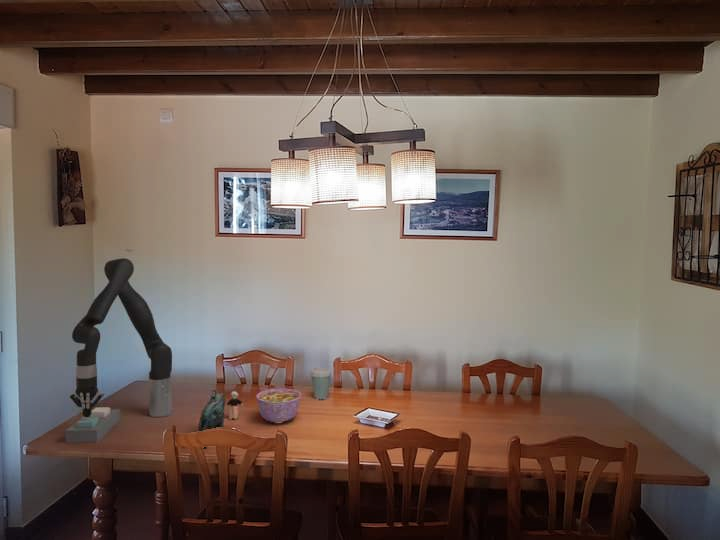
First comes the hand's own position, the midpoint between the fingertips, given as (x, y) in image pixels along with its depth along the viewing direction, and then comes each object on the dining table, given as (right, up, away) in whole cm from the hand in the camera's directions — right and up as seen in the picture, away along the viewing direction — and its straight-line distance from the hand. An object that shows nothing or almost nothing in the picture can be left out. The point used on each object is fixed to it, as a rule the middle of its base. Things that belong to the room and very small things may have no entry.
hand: (87, 416), depth 212 cm
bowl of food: (+74, -8, +23) cm, 79 cm away
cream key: (-1, -3, +12) cm, 13 cm away
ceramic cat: (+51, -10, +1) cm, 52 cm away
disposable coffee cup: (+91, -6, +55) cm, 106 cm away
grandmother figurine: (+54, -8, +24) cm, 60 cm away
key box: (0, -8, +7) cm, 10 cm away
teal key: (0, -4, 0) cm, 4 cm away
